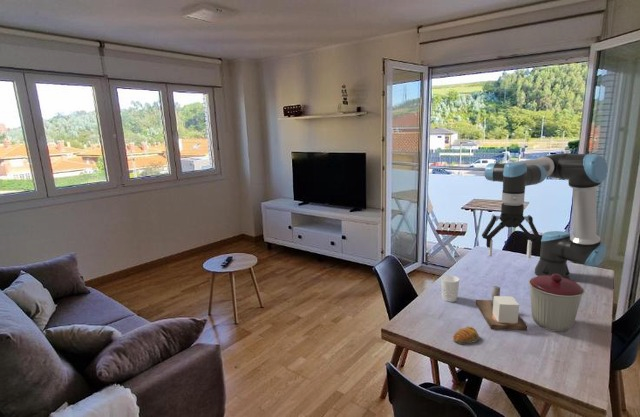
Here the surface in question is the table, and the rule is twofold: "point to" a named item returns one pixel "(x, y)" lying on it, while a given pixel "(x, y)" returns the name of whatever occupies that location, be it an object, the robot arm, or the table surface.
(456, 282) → the white cup
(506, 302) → the matte off-white cube
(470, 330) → the pastry
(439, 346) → the table surface
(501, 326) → the board
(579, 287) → the canister
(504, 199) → the robot arm
